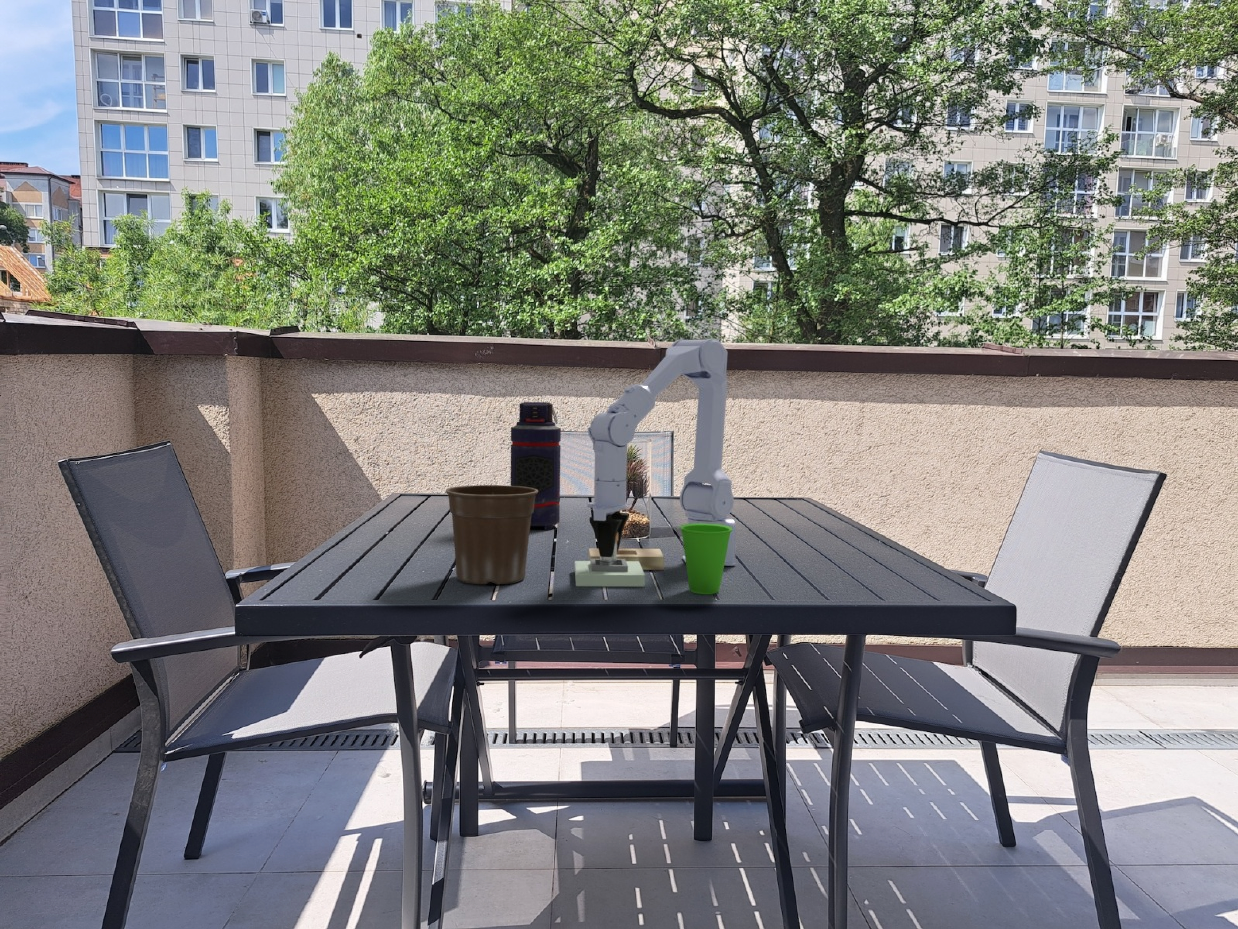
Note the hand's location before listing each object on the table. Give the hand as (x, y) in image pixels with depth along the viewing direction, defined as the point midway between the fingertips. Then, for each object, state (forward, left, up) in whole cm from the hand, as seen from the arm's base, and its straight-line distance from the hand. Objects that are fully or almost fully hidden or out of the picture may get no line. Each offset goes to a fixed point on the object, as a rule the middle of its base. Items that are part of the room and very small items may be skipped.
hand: (609, 554), depth 164 cm
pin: (0, 0, -4) cm, 4 cm away
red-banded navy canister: (+15, -58, -5) cm, 60 cm away
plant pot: (+21, 0, -5) cm, 22 cm away
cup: (-16, +9, -5) cm, 19 cm away
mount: (-4, -12, -4) cm, 13 cm away
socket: (0, 0, -4) cm, 4 cm away
